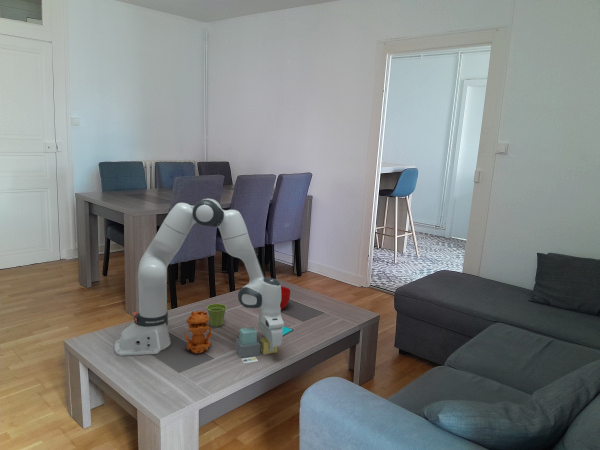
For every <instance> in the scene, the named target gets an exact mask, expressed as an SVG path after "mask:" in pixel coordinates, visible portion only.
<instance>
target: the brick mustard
mask: <svg viewBox="0 0 600 450" xmlns="http://www.w3.org/2000/svg"><path fill="white" fill-rule="evenodd" d="M259 340H260V341H259V344H260V352H262V354H263V355H268V354H274V353H276V354H277V353H278V346H277V347H274V351H270V350H269V346H270V342H269V341H268V340H267V338H266V337H265V338H263V337H260V339H259Z"/></svg>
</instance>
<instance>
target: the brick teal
mask: <svg viewBox="0 0 600 450" xmlns="http://www.w3.org/2000/svg"><path fill="white" fill-rule="evenodd" d="M257 335H258V331H257V330H256V329H255V327H253V326H251V327H244V328H239V340H240V342H241V343H242V345H246V344H254V343H257V341H258V339H257V338H258V336H257Z"/></svg>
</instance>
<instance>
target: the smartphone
mask: <svg viewBox="0 0 600 450" xmlns="http://www.w3.org/2000/svg"><path fill="white" fill-rule="evenodd" d="M282 330H283V335H282V338H283V337H284V336H287V335H288V334H290V333H292V332H293V331H294V329H293V328H291V327H289V326H285V325H284V327H282ZM261 338H263V335H262V337H261Z"/></svg>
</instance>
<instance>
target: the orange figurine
mask: <svg viewBox="0 0 600 450" xmlns="http://www.w3.org/2000/svg"><path fill="white" fill-rule="evenodd" d="M209 318H210V317H209V315H208V311H206V312H205V310H200V311H199V310H197V311H194V310H193V311H192V312H191V313H190V314H189V317H188V318H187V319H186V323H187V326H188V329H187V330H188V332H190V333H191V334H192V336H191V339H190V338H189V337H188V335H187V330H186V329H185V330H184V338H185V340H186V342H187V344H186V349H187V351H189V350H190V351H191V353H194V354H202V353H204V352H205V351H208V350H209V349H208V348H210V347H212V344H211V341H210V338H211V337H212V333H213V332H212V330H213V329H212V327H210V326H209V323H208V322H210V319H209ZM206 333H207V335H206V336H205V334H206Z"/></svg>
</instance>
